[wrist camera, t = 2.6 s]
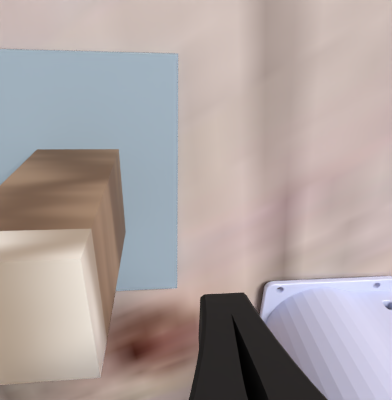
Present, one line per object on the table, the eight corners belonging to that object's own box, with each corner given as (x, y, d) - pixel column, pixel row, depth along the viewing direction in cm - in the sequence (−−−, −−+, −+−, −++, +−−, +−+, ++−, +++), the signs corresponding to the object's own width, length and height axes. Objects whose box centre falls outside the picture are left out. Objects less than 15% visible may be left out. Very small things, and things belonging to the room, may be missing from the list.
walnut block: (118, 149, 17) (80, 258, 9) (125, 231, 19) (100, 377, 11) (37, 149, 16) (-82, 264, 8) (54, 233, 18) (-25, 386, 11)
